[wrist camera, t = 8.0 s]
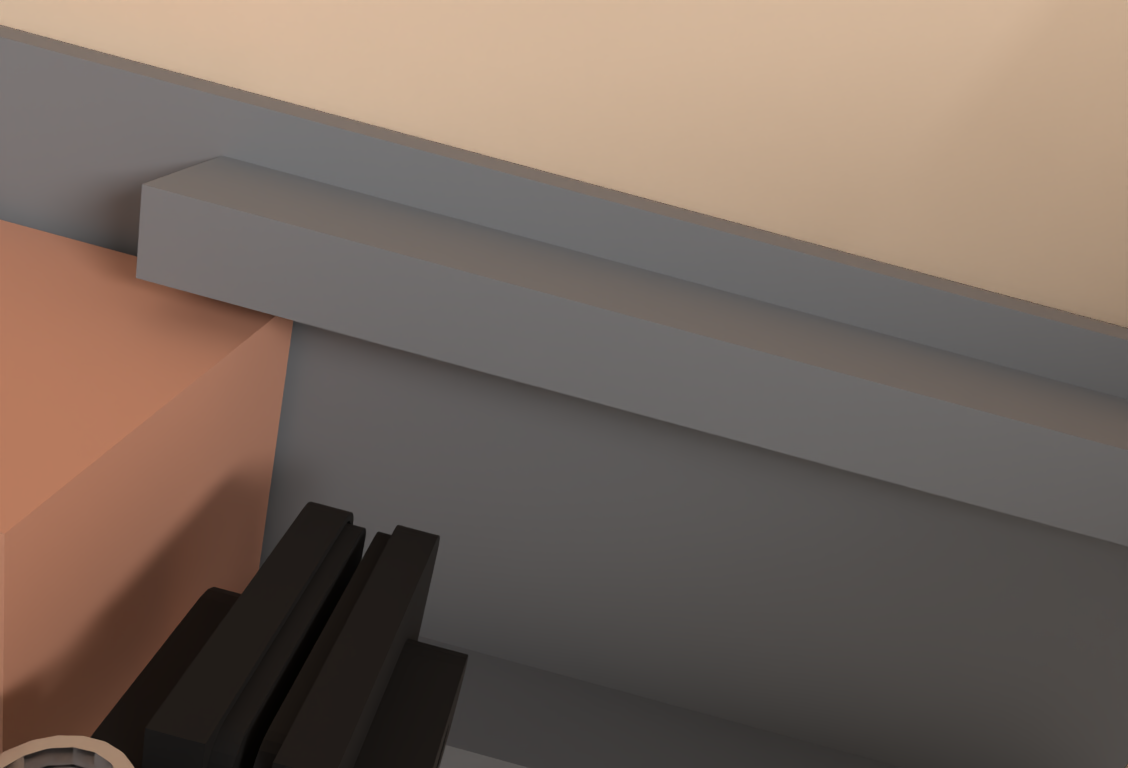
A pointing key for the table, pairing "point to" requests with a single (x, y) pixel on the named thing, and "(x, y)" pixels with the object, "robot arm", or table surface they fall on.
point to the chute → (637, 436)
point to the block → (119, 470)
